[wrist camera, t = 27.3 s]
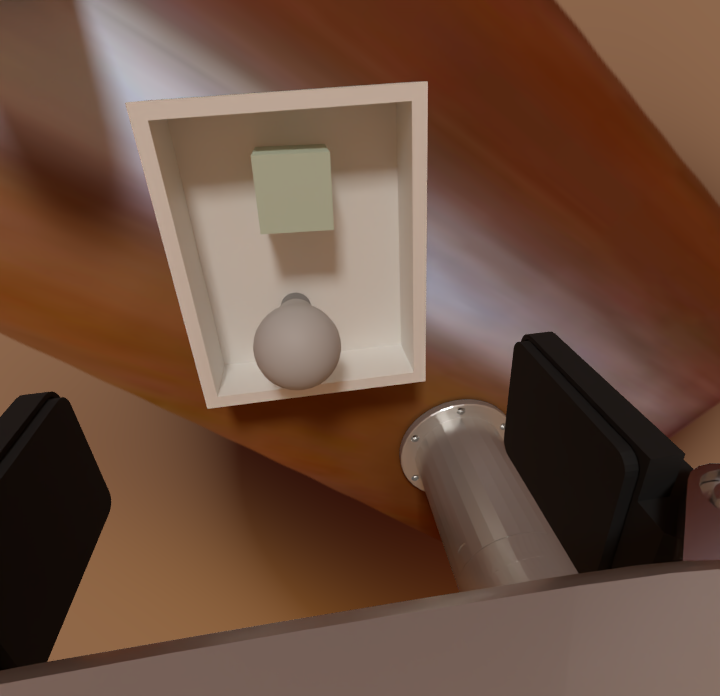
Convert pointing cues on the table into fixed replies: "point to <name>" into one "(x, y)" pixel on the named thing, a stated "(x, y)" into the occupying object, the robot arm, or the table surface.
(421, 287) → the tote
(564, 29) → the table surface
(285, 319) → the lightbulb
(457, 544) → the robot arm
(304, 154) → the sage cube
